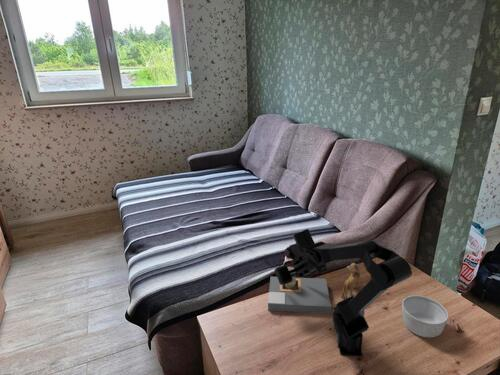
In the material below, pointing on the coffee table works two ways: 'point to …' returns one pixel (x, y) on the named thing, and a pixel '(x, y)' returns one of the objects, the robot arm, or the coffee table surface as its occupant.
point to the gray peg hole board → (300, 296)
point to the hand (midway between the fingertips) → (290, 274)
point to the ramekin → (424, 316)
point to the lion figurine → (351, 279)
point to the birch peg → (292, 284)
